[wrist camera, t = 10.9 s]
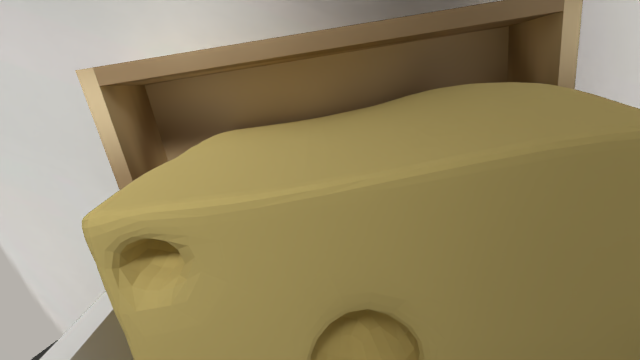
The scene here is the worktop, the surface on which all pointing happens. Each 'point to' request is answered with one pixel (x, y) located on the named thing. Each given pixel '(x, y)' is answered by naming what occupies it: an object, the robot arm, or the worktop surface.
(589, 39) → the worktop surface
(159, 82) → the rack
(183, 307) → the cheese
